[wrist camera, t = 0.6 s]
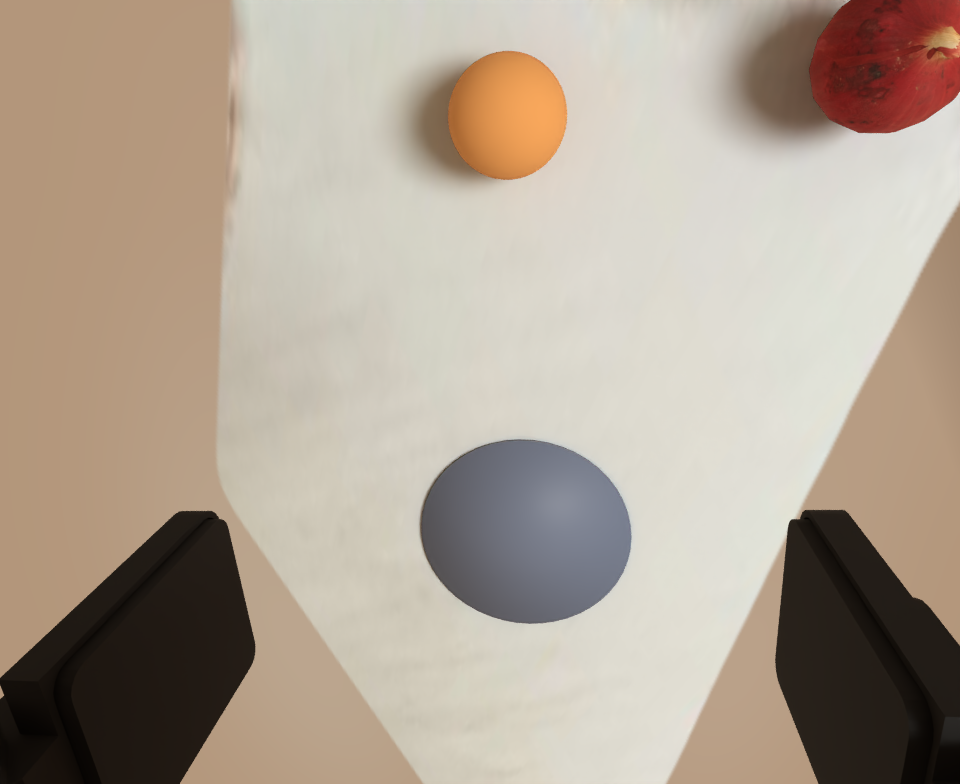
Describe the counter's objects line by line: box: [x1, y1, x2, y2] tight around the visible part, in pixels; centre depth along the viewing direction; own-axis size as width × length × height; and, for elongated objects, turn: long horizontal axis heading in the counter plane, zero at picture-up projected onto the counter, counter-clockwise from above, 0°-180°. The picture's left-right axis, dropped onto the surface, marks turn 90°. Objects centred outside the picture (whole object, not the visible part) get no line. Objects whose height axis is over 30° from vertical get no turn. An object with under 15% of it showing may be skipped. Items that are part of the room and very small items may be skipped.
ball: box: [448, 51, 567, 180], centre depth 31 cm, size 6×6×6 cm
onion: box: [809, 0, 960, 133], centre depth 27 cm, size 6×6×8 cm
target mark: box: [422, 440, 631, 624], centre depth 41 cm, size 13×13×1 cm
